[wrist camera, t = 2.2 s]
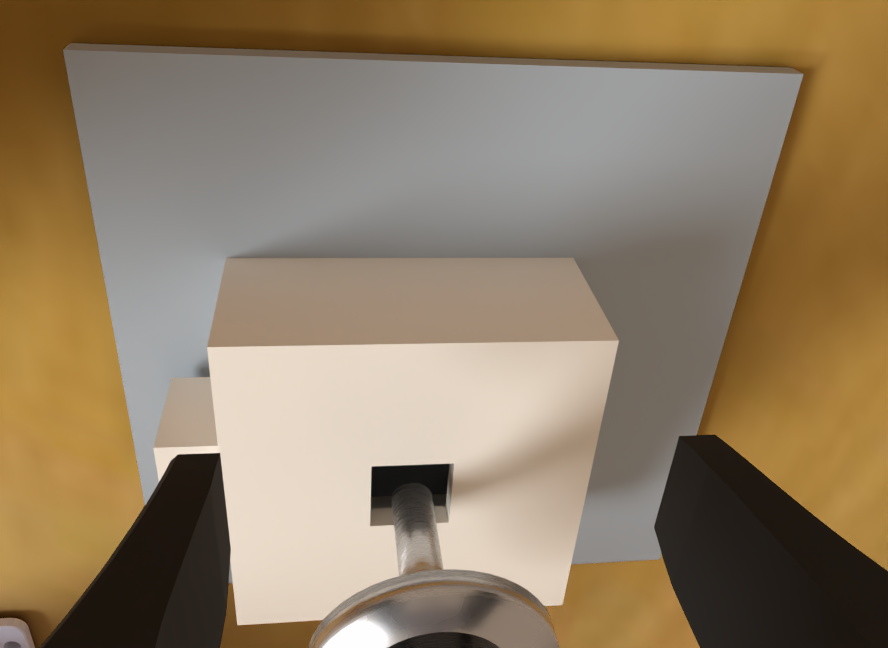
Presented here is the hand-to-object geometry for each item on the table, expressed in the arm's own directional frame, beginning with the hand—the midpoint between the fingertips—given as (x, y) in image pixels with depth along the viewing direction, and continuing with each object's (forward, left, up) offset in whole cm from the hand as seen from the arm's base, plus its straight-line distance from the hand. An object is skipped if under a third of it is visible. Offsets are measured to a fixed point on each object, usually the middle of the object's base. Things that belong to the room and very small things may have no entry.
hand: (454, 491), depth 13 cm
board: (-4, -1, -10) cm, 11 cm away
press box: (-5, 0, -9) cm, 11 cm away
